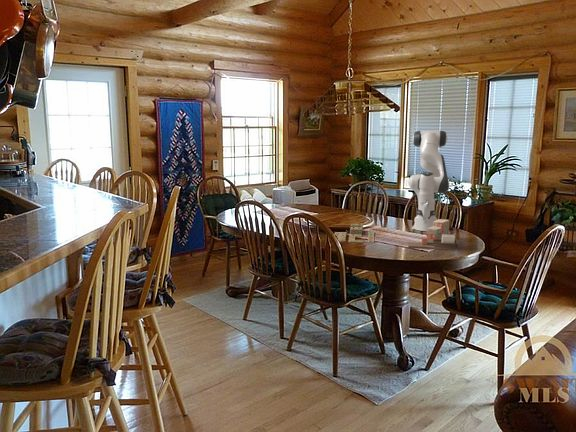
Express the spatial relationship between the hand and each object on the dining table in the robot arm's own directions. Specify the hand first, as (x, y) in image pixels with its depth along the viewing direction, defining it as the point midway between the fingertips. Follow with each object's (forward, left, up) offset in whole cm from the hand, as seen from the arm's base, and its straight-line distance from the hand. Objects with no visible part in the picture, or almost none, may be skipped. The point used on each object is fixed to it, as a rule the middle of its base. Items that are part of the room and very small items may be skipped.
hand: (425, 222), depth 301 cm
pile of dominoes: (-20, -44, -16) cm, 52 cm away
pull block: (0, +8, -14) cm, 16 cm away
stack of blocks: (-18, +9, -16) cm, 26 cm away
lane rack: (0, +5, -15) cm, 16 cm away
